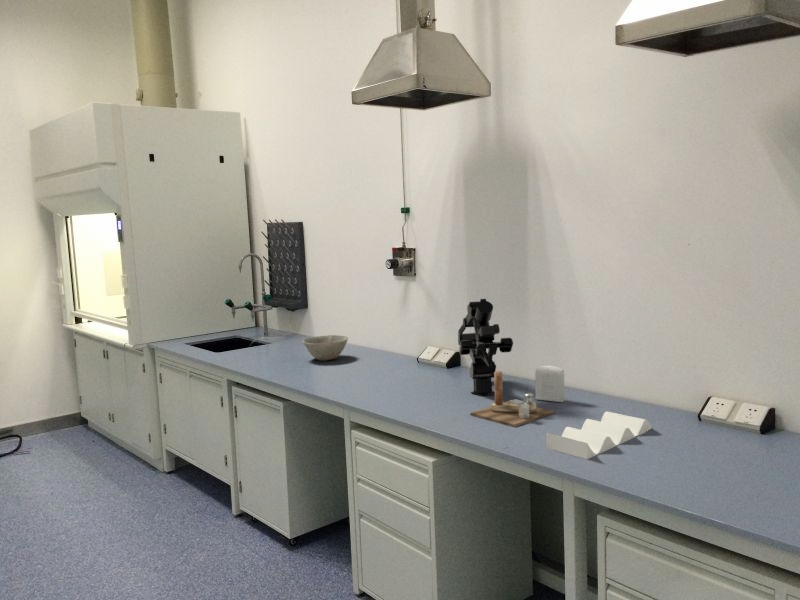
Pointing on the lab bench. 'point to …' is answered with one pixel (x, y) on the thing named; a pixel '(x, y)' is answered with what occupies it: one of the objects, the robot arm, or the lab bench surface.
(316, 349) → the ceramic bowl
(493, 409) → the ash crank
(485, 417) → the walnut board
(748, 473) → the lab bench surface
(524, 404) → the pintle and keeper
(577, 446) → the white wavy rack
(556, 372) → the white arched upright block
